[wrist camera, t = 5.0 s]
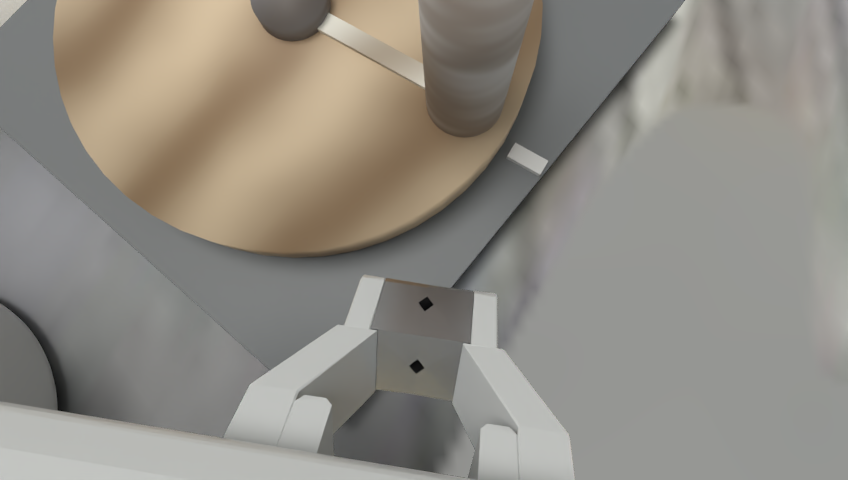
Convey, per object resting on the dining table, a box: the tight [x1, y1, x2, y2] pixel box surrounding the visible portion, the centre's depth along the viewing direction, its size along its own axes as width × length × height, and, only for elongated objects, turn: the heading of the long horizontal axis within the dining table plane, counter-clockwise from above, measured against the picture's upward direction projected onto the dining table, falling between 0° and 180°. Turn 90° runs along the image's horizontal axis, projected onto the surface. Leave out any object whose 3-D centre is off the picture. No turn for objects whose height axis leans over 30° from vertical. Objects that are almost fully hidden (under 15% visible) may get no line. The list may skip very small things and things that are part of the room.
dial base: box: [0, 0, 685, 370], centre depth 23 cm, size 24×24×2 cm
